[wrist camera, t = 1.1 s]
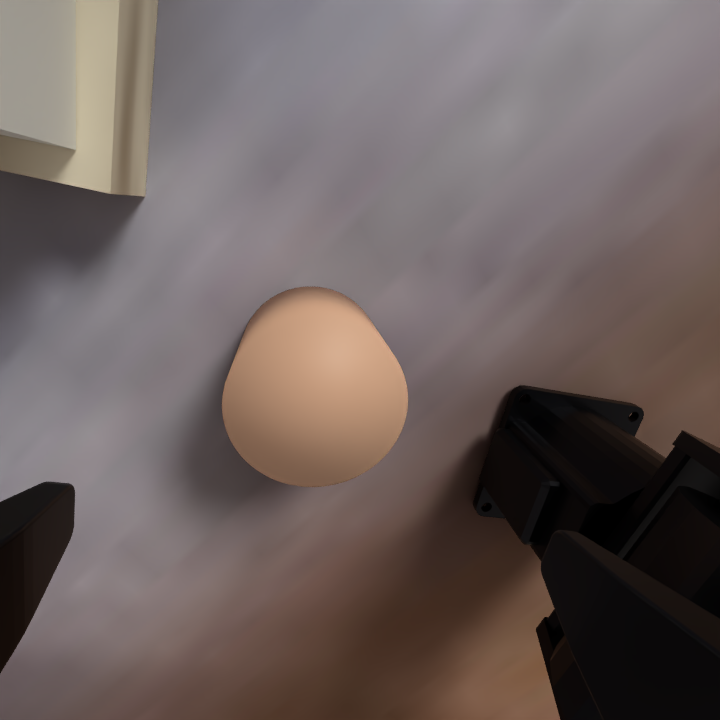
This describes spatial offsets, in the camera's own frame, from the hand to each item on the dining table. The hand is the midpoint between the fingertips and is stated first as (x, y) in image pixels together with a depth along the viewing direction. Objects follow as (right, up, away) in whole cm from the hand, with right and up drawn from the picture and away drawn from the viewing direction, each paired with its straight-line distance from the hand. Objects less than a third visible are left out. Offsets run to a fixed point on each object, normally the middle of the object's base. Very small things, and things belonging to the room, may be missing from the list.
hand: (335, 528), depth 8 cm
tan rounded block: (-2, +3, +9) cm, 10 cm away
